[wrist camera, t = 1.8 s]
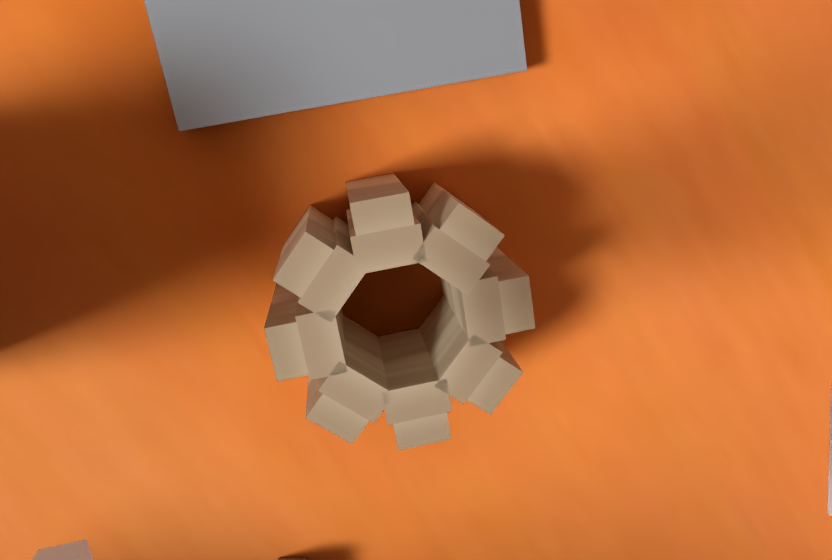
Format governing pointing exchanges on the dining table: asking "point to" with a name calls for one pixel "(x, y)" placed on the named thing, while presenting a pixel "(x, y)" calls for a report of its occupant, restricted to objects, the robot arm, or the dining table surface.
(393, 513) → the dining table surface
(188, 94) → the gear board
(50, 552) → the robot arm
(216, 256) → the dining table surface
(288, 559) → the gear
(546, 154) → the dining table surface
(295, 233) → the maple gear
